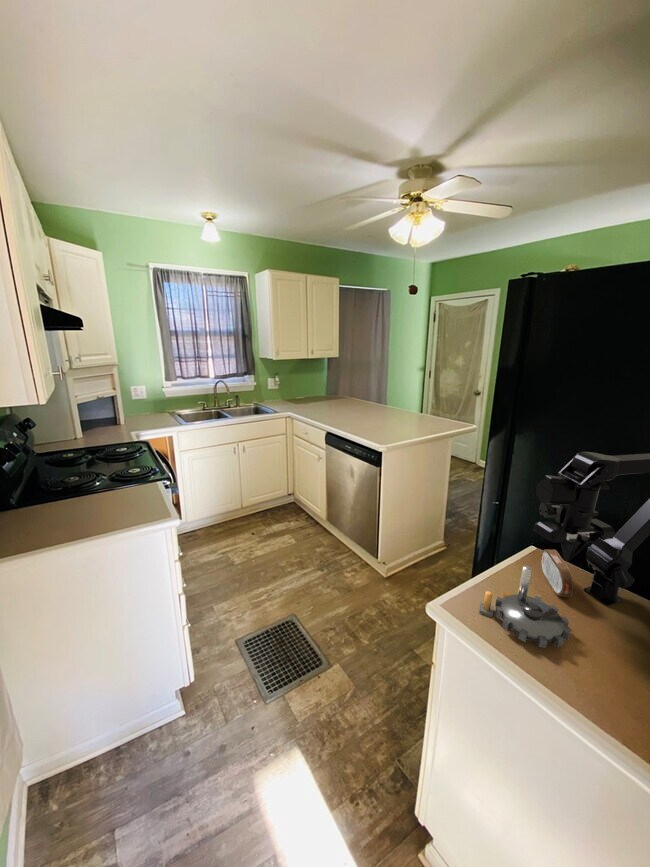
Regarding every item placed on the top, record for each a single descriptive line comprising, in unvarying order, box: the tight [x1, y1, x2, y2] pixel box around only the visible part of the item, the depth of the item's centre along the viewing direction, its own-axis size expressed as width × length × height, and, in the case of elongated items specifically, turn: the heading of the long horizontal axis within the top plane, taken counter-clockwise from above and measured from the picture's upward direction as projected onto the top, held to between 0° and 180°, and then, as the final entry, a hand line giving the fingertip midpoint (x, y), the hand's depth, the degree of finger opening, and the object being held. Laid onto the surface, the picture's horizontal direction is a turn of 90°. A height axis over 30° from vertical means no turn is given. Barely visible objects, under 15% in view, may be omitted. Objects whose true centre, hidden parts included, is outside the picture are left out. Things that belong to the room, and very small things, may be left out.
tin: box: [540, 548, 575, 598], centre depth 99 cm, size 15×3×8 cm, turn 168°
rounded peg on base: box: [478, 590, 494, 618], centre depth 88 cm, size 3×3×5 cm
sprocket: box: [494, 565, 572, 649], centre depth 83 cm, size 15×15×11 cm
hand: (566, 560), depth 91 cm, fingers closed
